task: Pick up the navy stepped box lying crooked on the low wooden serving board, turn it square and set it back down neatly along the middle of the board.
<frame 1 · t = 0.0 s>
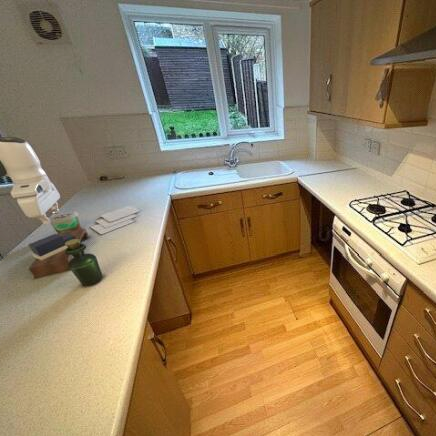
hand: (52, 218, 92), 22 cm above the worktop, tool pointing down, fingers open, 8 cm apart
potion bottle: (93, 281, 92), on the worktop
food container: (70, 233, 124), on the worktop
paper stack: (117, 219, 137), on the worktop
navy stepped box: (58, 249, 103), point 5 cm above the worktop, touching wooden serving board
wooden serving board: (65, 255, 107), on the worktop
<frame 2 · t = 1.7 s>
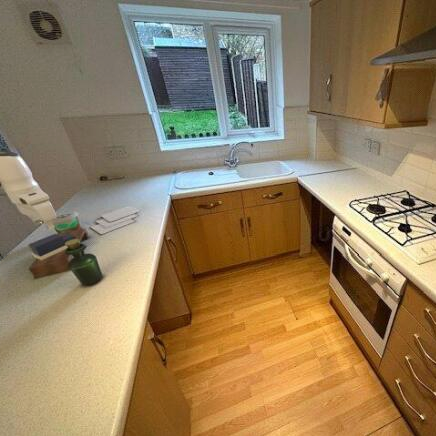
hand: (45, 226, 97), 16 cm above the worktop, tool pointing down, fingers open, 8 cm apart
nothing on the worktop moved.
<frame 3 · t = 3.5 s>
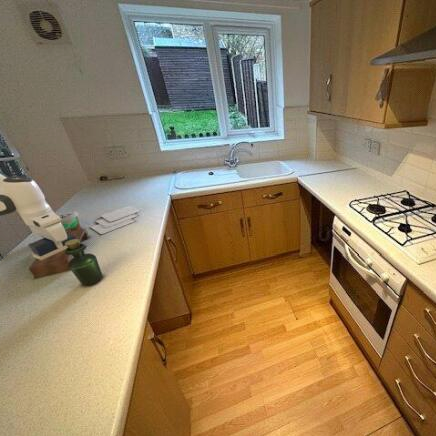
hand: (55, 245, 102), 7 cm above the worktop, tool pointing down, fingers closed on navy stepped box, 5 cm apart
navy stepped box: (58, 249, 103), point 5 cm above the worktop, touching gripper, wooden serving board
everything else where it was.
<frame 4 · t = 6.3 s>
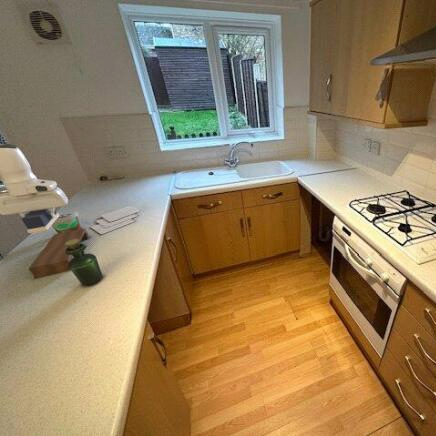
hand: (42, 219, 97), 19 cm above the worktop, tool pointing down, fingers closed on navy stepped box, 5 cm apart
navy stepped box: (45, 223, 98), point 17 cm above the worktop, touching gripper
everything else where it was.
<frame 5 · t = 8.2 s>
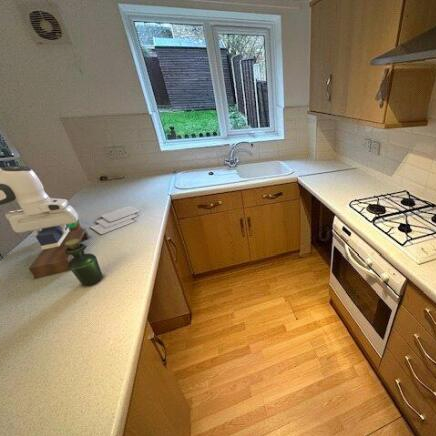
hand: (54, 235, 102), 10 cm above the worktop, tool pointing down, fingers closed on navy stepped box, 5 cm apart
navy stepped box: (56, 239, 103), point 8 cm above the worktop, touching gripper
everything else where it was.
when the fingers open (7 cm above the worktop, at t = 9.6 s): navy stepped box stays where it is, resting on wooden serving board.
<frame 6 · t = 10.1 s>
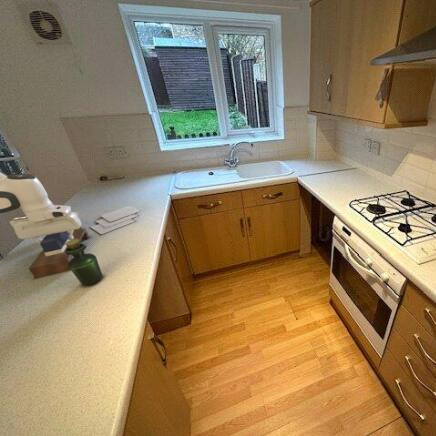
hand: (57, 241, 104), 7 cm above the worktop, tool pointing down, fingers open, 8 cm apart
navy stepped box: (60, 245, 105), point 5 cm above the worktop, touching wooden serving board
everything else where it was.
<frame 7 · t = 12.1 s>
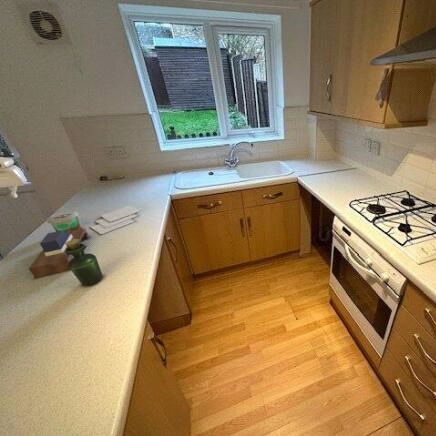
nothing on the worktop moved.
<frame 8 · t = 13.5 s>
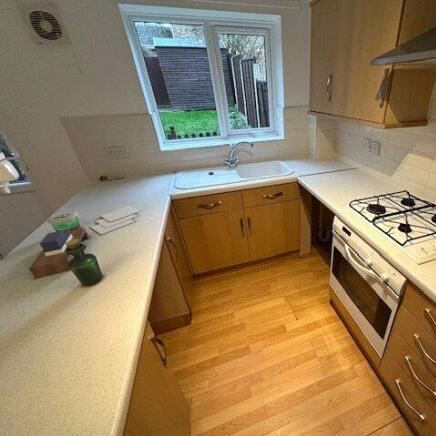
nothing on the worktop moved.
at the end: navy stepped box 0.1 cm off-centre on the wooden serving board, point 5.0 cm above the wooden serving board's base; navy stepped box tilted 0°; the gripper is holding nothing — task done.
